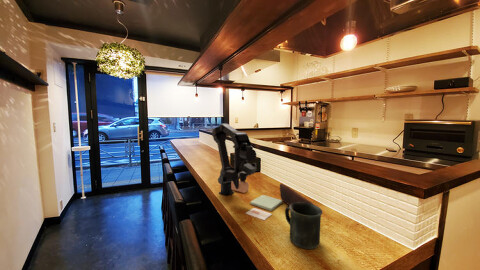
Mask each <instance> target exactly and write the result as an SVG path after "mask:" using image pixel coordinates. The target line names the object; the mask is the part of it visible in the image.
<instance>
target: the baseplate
mask: <svg viewBox="0 0 480 270" xmlns="http://www.w3.org/2000/svg"><path fill="white" fill-rule="evenodd" d="M281 204H283V200H282V199H279V198H274V197H272V196H268V195H265V194H261V195H260V196H258V197H256V198H255V199H253V200H251V201H250V204H249V205H252V206H253V207H254V206H256V207H257V208H261V209H264V210H267V211H270V212H272V211H273V210H274V209H276V208H277V207H279V206H280V205H281Z"/></svg>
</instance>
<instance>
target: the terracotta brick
mask: <svg viewBox="0 0 480 270" xmlns="http://www.w3.org/2000/svg"><path fill="white" fill-rule="evenodd" d="M249 185H250V183H249V182H247V181H245V182H243V181H240V180H239V187H238V189H236V187H235V185H234V183H233V181H232V182H231V189H232V190H233V191H237V192H240V193H242V194H243V193H246V192H249V191H250V190H249Z"/></svg>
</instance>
